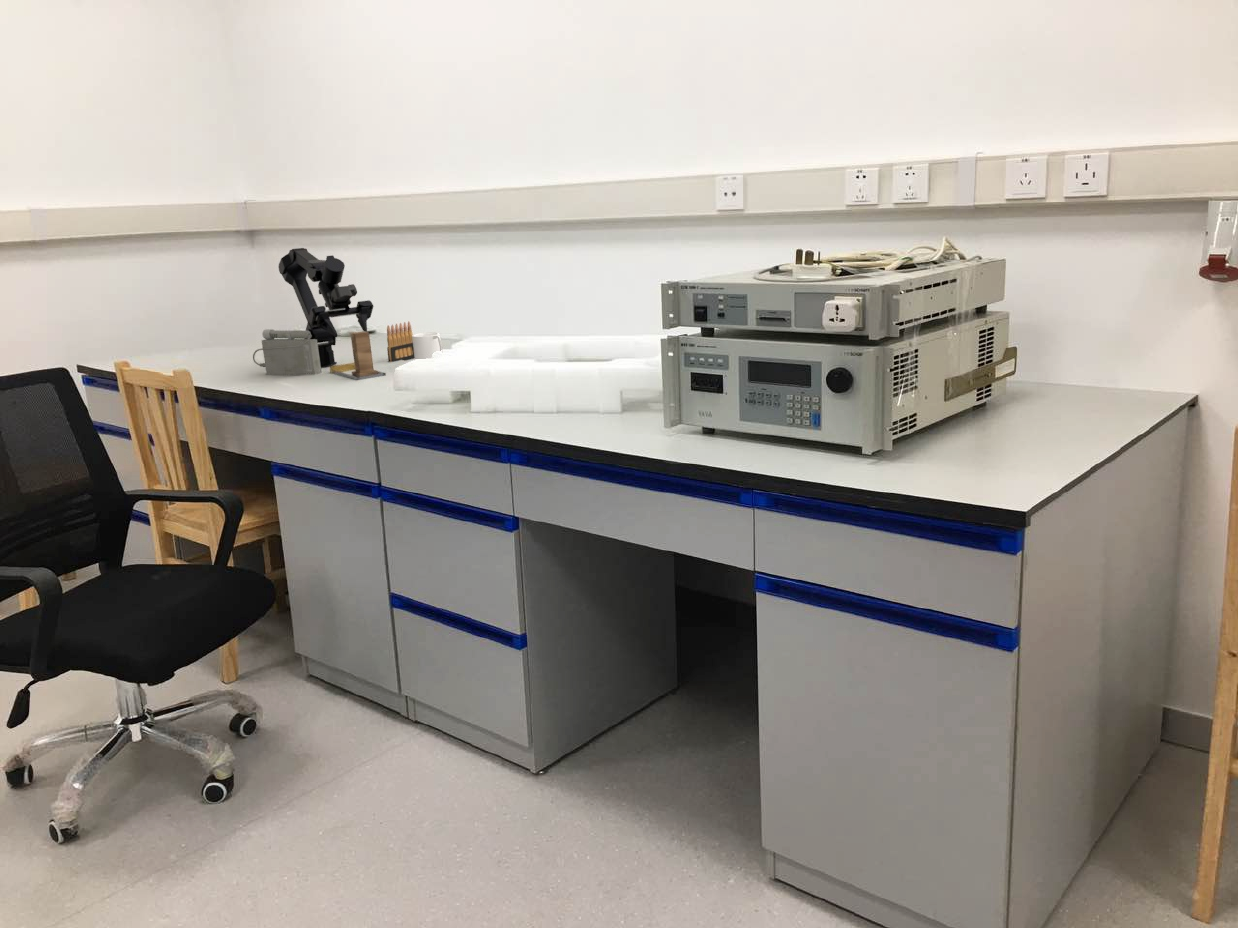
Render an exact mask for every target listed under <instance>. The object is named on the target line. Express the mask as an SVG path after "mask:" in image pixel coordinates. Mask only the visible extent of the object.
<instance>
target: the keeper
mask: <svg viewBox="0 0 1238 928" xmlns="http://www.w3.org/2000/svg"><path fill="white" fill-rule="evenodd" d="M350 339H351V347H352V355H353V363H354V364H355V370H352V371H351V375H353V376H357V377H361V376H367V375H373V374H378V371H379V370H375V369H374V363H373V362H374V361H373V355H372V354H373V352H372V346H371V345H372V344H371V338H370V332H369V331H367V332H365V331H363V330H362V331H356V332H355V331H354V332H350Z"/></svg>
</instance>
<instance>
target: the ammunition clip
mask: <svg viewBox="0 0 1238 928" xmlns="http://www.w3.org/2000/svg"><path fill="white" fill-rule="evenodd" d="M412 329H413V328H412V325H411V322H410V321H408V322H407V323H406V322H405V321H404V322H403V324H402V323H401V322H400V323H399V326H398V323H395V325H393V324H391V327H390V326H389V325H387V327H386V336H387V337H386V338H387V340H386V341H387V348H386V349H387V359H388V362H390V363H394V362H398V361H404V362H405V361H409V360H415V357H414V348H413V339H412V335H414V333H413V330H412Z"/></svg>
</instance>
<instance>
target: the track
mask: <svg viewBox="0 0 1238 928" xmlns="http://www.w3.org/2000/svg"><path fill="white" fill-rule="evenodd" d="M329 371H330V373H331V374H335V375H338V376H342V377H344V378H348V379H351V380H355V381H360V380H367V379H372V378H380V377H385V376H386V375H387V374H386V372H382V371H379V370H377V371H378V374H373V375H367V376H361V377H357V376H353V375H352V374H350V373H345V372H347V371H348V372H350V371H355V364H354V362H348V363H343V364H341V363H340V364H337V365H336V364H334V365H330V366H329Z"/></svg>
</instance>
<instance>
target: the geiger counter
mask: <svg viewBox="0 0 1238 928" xmlns="http://www.w3.org/2000/svg"><path fill="white" fill-rule="evenodd" d="M261 333H262V337H263V339H261V346H262V348H257V349H256V350H255V351H254V352H253V354H252V361H253V362H254V364H256V365H258V366H259V367H262V368H265V372H266V373H265V374H266V376H267V375H268V376H293V377H294V376H296V377H297V376H304V375H305V376H306V375H318V374H319V375H320V374H321V373H322V372H323V371H322V367H321V365H320V358H319V350H318V344H319V343H317V339H310V338H311V336H312V335H311V333H310V331H306V330H280V329H279V330H278V329H277V330H275V329H272V328H271V329H267V328H265V329H264V330H263V331H262V332H261ZM304 338H308V339H304ZM258 351H262V352H263V360H264V362H263V363H261V362H260V363H259V362H257V361H256V360H255V355H256V353H257V352H258Z"/></svg>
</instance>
